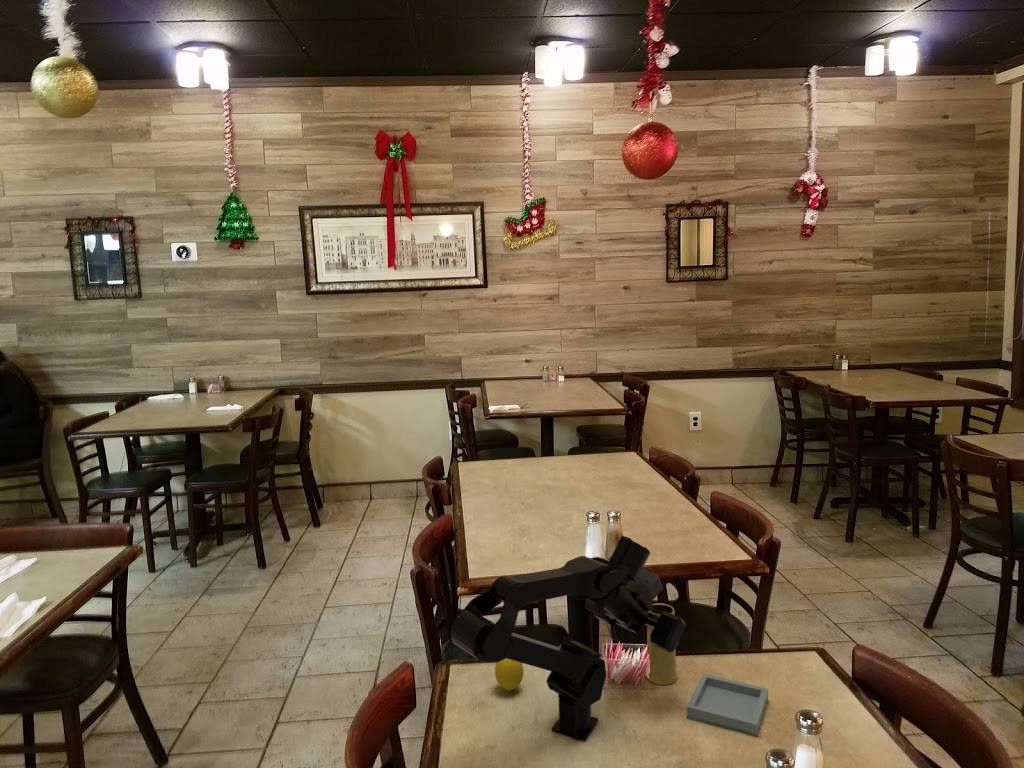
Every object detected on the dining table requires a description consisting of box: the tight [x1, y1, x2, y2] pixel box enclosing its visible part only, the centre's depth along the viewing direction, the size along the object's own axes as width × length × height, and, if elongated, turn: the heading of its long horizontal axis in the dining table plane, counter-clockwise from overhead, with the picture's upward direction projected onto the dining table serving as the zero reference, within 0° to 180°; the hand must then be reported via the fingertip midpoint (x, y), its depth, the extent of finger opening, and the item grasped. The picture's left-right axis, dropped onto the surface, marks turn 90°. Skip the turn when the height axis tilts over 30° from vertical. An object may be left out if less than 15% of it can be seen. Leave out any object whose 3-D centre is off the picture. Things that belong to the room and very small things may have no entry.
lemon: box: [494, 659, 524, 692], centre depth 135 cm, size 6×6×8 cm
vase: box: [646, 602, 678, 686], centre depth 138 cm, size 6×6×14 cm
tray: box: [686, 673, 769, 738], centre depth 127 cm, size 12×12×2 cm
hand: (657, 636), depth 137 cm, fingers open, 9 cm apart
